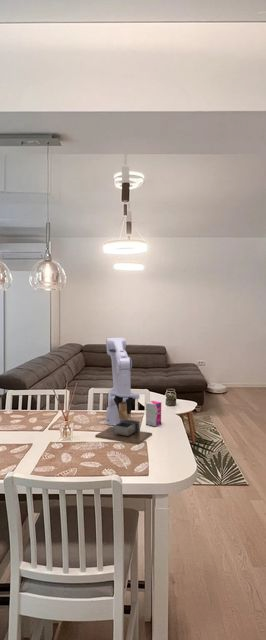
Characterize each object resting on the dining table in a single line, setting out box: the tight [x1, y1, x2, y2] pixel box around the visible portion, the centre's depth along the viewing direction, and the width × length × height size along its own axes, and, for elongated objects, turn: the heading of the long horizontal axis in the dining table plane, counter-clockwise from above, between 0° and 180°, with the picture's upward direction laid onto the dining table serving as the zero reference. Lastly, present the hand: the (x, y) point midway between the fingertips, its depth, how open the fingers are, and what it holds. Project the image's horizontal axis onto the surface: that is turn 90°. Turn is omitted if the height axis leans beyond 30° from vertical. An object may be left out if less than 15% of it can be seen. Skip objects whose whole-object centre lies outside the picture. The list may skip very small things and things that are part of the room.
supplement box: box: [145, 400, 162, 428], centre depth 193 cm, size 6×6×12 cm
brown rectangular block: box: [119, 402, 132, 420], centre depth 176 cm, size 4×4×7 cm
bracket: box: [94, 418, 153, 445], centre depth 176 cm, size 22×14×6 cm, turn 62°
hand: (124, 413), depth 176 cm, fingers closed on brown rectangular block, 4 cm apart
